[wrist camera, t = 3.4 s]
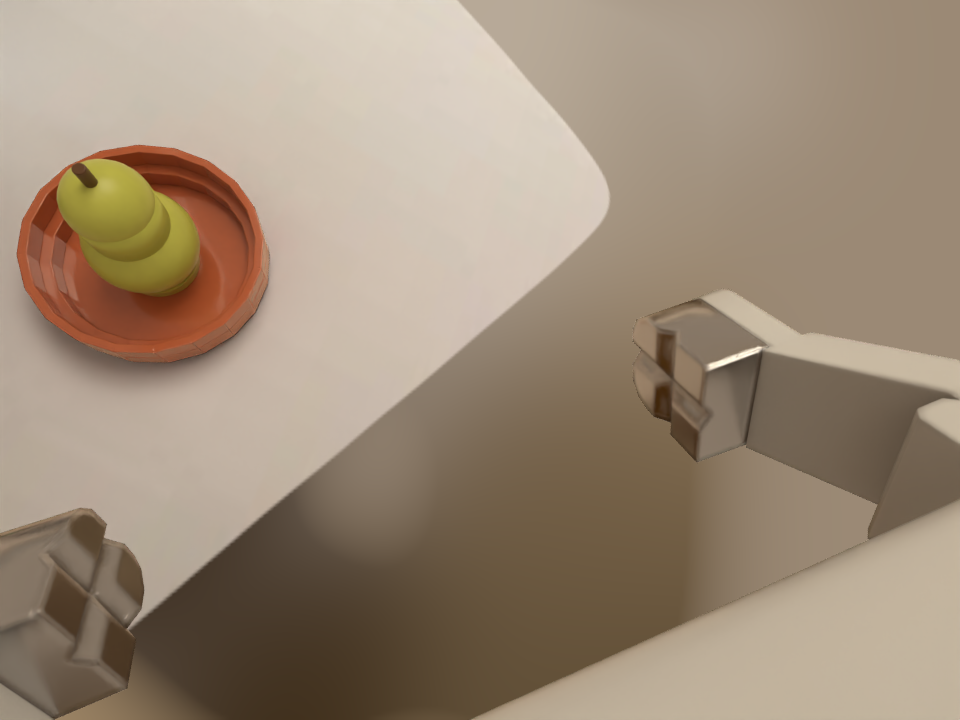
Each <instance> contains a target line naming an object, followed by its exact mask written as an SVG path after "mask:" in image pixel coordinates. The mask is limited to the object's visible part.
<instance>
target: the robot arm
mask: <svg viewBox="0 0 960 720" xmlns="http://www.w3.org/2000/svg"><path fill="white" fill-rule="evenodd" d="M633 342H634V343H635V344H636V345H637V346H638V347H639V348H640V349H641V351H640V353H639V354H638V356H637V358H636V359H635V361H634V363H633V381H634V384H635V387H636V390H637V393H638V396H639V398H640V399H641V401H642V403H643V404H644V406H645V407H646V409H647V410H648V411H649V412H650V413H651V414H652V415H653V416H654V417H656V418H659V419H662V420H665V421H668V422H671V436H672V437H673V438H674V439H675V440H676V441H677V442H678V443H679V444H680V445H681V446H682V447H683V448H684V449H685V451H687V453H688V454H689V455H690V456H691V457H692V458H693V459H694V460H695V461H696V462H699V461H702V460H705V459H707V458H710V457H713V456H716V455H719V454H721V453H724V452H727V451H729V450H732V449H735V448H738V447H740V446H743V445H746V448H749V449H751V450H753V451H755V452H758V453H760V454H762V455H765V456H767V457H769V458H772V459H774V460H776V461H779V462H781V463H783V464H786V465H788V466H790V467H792V468H795V469H797V470H799V471H802V472H804V473H806V474H809V475H811V476H813V477H816V478H818V479H820V480H822V481H825V482H827V483H829V484H832V485H834V486H836V487H838V488H841V489H843V490H845V491H848V492H850V493H852V494H855V495H857V496H859V497H862V498H864V499H866V500H869V501H871V502H873V503H875V504H878V505H877V508H876V510H875V513H874V515H873V518H872V520H871V523H870V525H869V528H868V539H869V540H867V541H865V542H863V543H861V544H859V545H856V546H854V547H852V548H850V549H847V550H845V551H843V552H841V553H839V554H836V555H834V556H832V557H830V558H827V559H825V560H823V561H821V562H819V563H816V564H814V565H812V566H810V567H808V568H805V569H803V570H801V571H799V572H797V573H794V574H792V575H790V576H788V577H785V578H783V579H781V580H779V581H777V582H774V583H772V584H770V585H768V586H765V587H763V588H761V589H759V590H756V591H754V592H752V593H750V594H748V595H745V596H743V597H741V598H739V599H737V600H734V601H732V602H730V603H728V604H725V605H723V606H721V607H719V608H716V609H714V610H712V611H710V612H708V613H705V614H703V615H701V616H699V617H696V618H694V619H692V620H690V621H688V622H685V623H683V624H681V625H679V626H677V627H674V628H672V629H670V630H668V631H665V632H663V633H661V634H659V635H657V636H655V637H652V638H650V639H648V640H645V641H643V642H641V643H639V644H636V645H634V646H632V647H630V648H628V649H625V650H623V651H621V652H619V653H616V654H614V655H612V656H610V657H608V658H605V659H603V660H601V661H599V662H597V663H594V664H592V665H590V666H588V667H585V668H583V669H581V670H579V671H576V672H574V673H572V674H570V675H568V676H565V677H563V678H561V679H559V680H557V681H554V682H552V683H550V684H548V685H545V686H543V687H541V688H539V689H537V690H534V691H532V692H530V693H528V694H525V695H523V696H521V697H519V698H517V699H515V700H512V701H510V702H508V703H505V704H503V705H501V706H499V707H497V708H494V709H492V710H490V711H488V712H485V713H483V714H481V715H479V716H477V717H474V718H472V719H470V720H960V360H955V359H949V358H944V357H939V356H934V355H929V354H923V353H918V352H913V351H907V350H902V349H896V348H891V347H886V346H881V345H875V344H870V343H865V342H860V341H854V340H849V339H844V338H838V337H833V336H828V335H822V334H817V333H808V334H805V335H801V334H799V333H798V332H796V331H795V330H793V329H792V328H790V327H788V326H787V325H785V324H784V323H782V322H780V321H779V320H777V319H776V318H774V317H772V316H771V315H769V314H768V313H766V312H764V311H763V310H761V309H760V308H758V307H757V306H755V305H753V304H752V303H750V302H749V301H747V300H746V299H744V298H742V297H741V296H739V295H738V294H736V293H734V292H733V291H731V290H727V289H718V290H716V291H713V292H710V293H708V294H705V295H702V296H699V297H697V298H694V299H693V300H691V301H688V302H685V303H682V304H679V305H677V306H674V307H671V308H668V309H665V310H662V311H659V312H656V313H653V314H651V315H648V316H645V317H642V318H639V319H637V320H636V322H635V325H634V328H633ZM106 525H107V524H106V523H105V522H104V521H103V520H102V519H101V518H100V517H99V516H98V515H97V514H96V513H95V512H94V511H93V510H92V509H87V508H78V509H75V510H72V511H68V512H65V513H62V514H59V515H56V516H53V517H50V518H46V519H43V520H40V521H37V522H34V523H31V524H28V525H24V526H21V527H18V528H15V529H12V530H9V531H6V532H2V533H0V720H54V719H56V718H58V717H61V716H64V715H66V714H68V713H71V712H73V711H75V710H78V709H80V708H82V707H85V706H87V705H89V704H92V703H94V702H96V701H99V700H101V699H103V698H106V697H108V696H111V695H113V694H115V693H118V692H120V691H122V690H125V689H127V686H128V681H129V676H130V669H131V665H132V659H133V654H134V648H135V643H136V639H135V638H134V637H133V636H132V634H131V633H130V632H129V631H128V630H127V628H128V626H129V625H130V624H131V622H132V621H133V620H134V618H135V617H136V616H137V614H138V613H139V612H140V610H141V609H142V602H143V595H144V585H143V578H142V571H141V568H140V566H139V564H138V562H137V560H136V558H135V556H134V554H133V553H132V552H131V551H130V550H129V548H128V547H127V546H126V545H125V544H123V543H119V542H116V541H112V540H109V539H105V538H104V535H105V530H106Z"/></svg>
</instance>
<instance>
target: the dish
mask: <svg viewBox="0 0 960 720" xmlns="http://www.w3.org/2000/svg"><path fill="white" fill-rule="evenodd" d="M91 159H107V160H113V161H117V162H120V163H123V164H125V165H127V166H128V167H130V168H132V169H134V170H135V171H137V172H138V173H139V174H140V175H141V176H142V177H143V178H144V179H145V180H146V181H147V182H148V183H149V185H150V186H151V188H152V189H153V190H154V191H156V192H159V193H162V194H164V195H166V196H168V197H170V198H171V199H173V200H174V201H176V202H177V203H178V204H179V205H180V206H182V207H183V208H184V209H185V211H186V212H187V213H188V214H189V215H190V217H191V218H192V220H193V222H194V224H195V226H196V228H197V231H198V234H199V240H200V253H199V257H200V266H199V271H198V273H197V276H196V277H195V279H194V280H193V282H192V283H191V284H190V285H189V286H188V287H187V288H185V289H184V290H182V291H180V292H178V293H176V294H173V295H169V296H163V297H156V296H149V295H145V294H143V293H135V292H130V291H127V290H124V289H121V288H118V287H116V286H114V285H112V284H110V283H108V282H107V281H105V280H104V279H102V278H101V277H100V276H99V275H98V274H97V273H96V272H95V271H94V270H93V269H92V268H91V267H90V265H89V264H88V262H87V261H86V259H85V257H84V255H83V252H82V250H81V246H80V240H79V235H78V234H77V233H76V232H75V231H74V230H73V229H72V228H71V227H70V226H69V225H68V224H67V222H66V221H65V220H64V218H63V217H62V215H61V213H60V210H59V207H58V203H57V189H58V185H59V182H60V180H61V178H62V176H63V175H64V174H65V173H66V171H67V170H69V169H70V168H71V167H72V165H73V164H75V163H80V162H83V161H86V160H91ZM75 163H73V164H71V165H69V166H68V167H66V168H64V169H63V170H62V171H61V172H60V173H59V174H58V175H56V176H55V177H54V178H53V179H52V180H51V181H50V182H48V183H47V184H46V185H45V186H44V187H43V188H42V189H40V191H39V192H38V194H37V196H36V197H35V199H34V201H33V202H32V204H31V206H30V208H29V209H28V211H27V213H26V215H25V216H24V218H23V221H22V224H21V230H20V236H19V243H18V249H17V258H18V263H19V267H20V271H21V275H22V280H23V284H24V288H25V290H26V291H27V293H28V294H29V296H30V297H31V298H32V300H33V301H34V303H35V304H36V306H37V307H38V308H39V310H40V311H41V313H42V314H43V316H44V317H45V318H46V319H47V320H49V321H50V322H51V323H53V324H54V325H56V326H57V327H58V328H60V329H61V330H63V331H64V332H66V333H67V334H68V335H70V336H71V337H73V338H74V339H75V340H77V341H79V342H81V343H83V344H85V345H87V346H89V347H91V348H93V349H95V350H97V351H100V352H103V353H106V354H109V355H112V356H115V357H118V358H122V359H125V360H128V361H133V362H173V361H177V360H180V359H184V358H188V357H192V356H196V355H200V354H203V353H205V352H207V351H209V350H210V349H212V348H214V347H215V346H217V345H219V344H220V343H222V342H224V341H226V340H227V339H229V338H231V337H232V336H233V335H235V334H236V333H237V332H238V330H239V329H240V328H241V327H242V326H243V325H244V324H245V323H246V322H247V320H248V319H249V318H250V317H251V316H252V315H253V314H254V313H255V311H256V309H257V307H258V305H259V302H260V300H261V298H262V295H263V293H264V291H265V288H266V286H267V283H268V271H269V250H268V247H267V244H266V240H265V237H264V233H263V230H262V227H261V224H260V221H259V218H258V216H257V213H256V210H255V208H254V206H253V204H252V203H251V202H250V200H249V199H248V198H247V196H246V195H245V193H244V192H243V191H242V189H241V188H240V186H239V185H238V184H237V182H235V180H233V179H232V178H231V177H229V176H228V175H227V174H225V173H224V172H223V171H221V170H220V169H219V168H217V167H216V166H215V165H213V164H212V163H210V162H209V161H207V160H204V159H202V158H199V157H196V156H194V155H191V154H188V153H186V152H183V151H180V150H178V149H175V148H166V147H156V146H145V145H134V146H128V147H122V148H116V149H109V150H103V151H99V152H97V153H95V154H93V155H91V156H88V157H86V158H84V159H82V160H80V161H77V162H75Z"/></svg>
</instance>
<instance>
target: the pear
mask: <svg viewBox="0 0 960 720" xmlns="http://www.w3.org/2000/svg"><path fill="white" fill-rule="evenodd" d="M57 203H58V207H59V210H60V213H61V215H62V217H63V218H64V220H65V221H66V222H67V224H68V225H69V226H70V227H71V228H72V229H73V230H74V231H75V232H76V233H77V234H78V235H79V240H80V246H81V250H82V252H83V255H84V257H85V259H86V261H87V262H88V264H89V265H90V267H91V268H92V269H93V270H94V271H95V272H96V273H97V274H98V275H99V276H100V277H101V278H102V279H104V280H105V281H107V282H108V283H110V284H112V285H114V286H116V287H118V288H121V289H124V290H127V291H130V292H135V293H143V294H145V295H149V296H156V297H163V296H169V295H173V294H176V293H178V292H180V291H182V290H184V289H185V288H187V287H188V286H189V285H190V284H191V283H192V282H193V280H194V279H195V277H196V276H197V273H198V271H199V266H200V257H199V253H200V240H199V234H198V231H197V228H196V226H195V224H194V222H193V220H192V218H191V217H190V215H189V214H188V213H187V212H186V211H185V209H184V208H183V207H182V206H180V205H179V204H178V203H177V202H176V201H174V200H173V199H171V198H170V197H168V196H166V195H164V194H162V193H159V192H156V191H154V190H153V189H152V188H151V186H150V185H149V183H148V182H147V181H146V180H145V179H144V178H143V177H142V176H141V175H140V174H139V173H138V172H137V171H135V170H134V169H132V168H130V167H128V166H127V165H125V164H123V163H120V162H117V161H113V160H107V159H91V160H86V161H83V162H80V163H75V164H73V165H72V167H71V168H70V169H69V170H67V171H66V173H65V174H64V175H63V176H62V178H61V180H60V182H59V185H58V189H57Z"/></svg>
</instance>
